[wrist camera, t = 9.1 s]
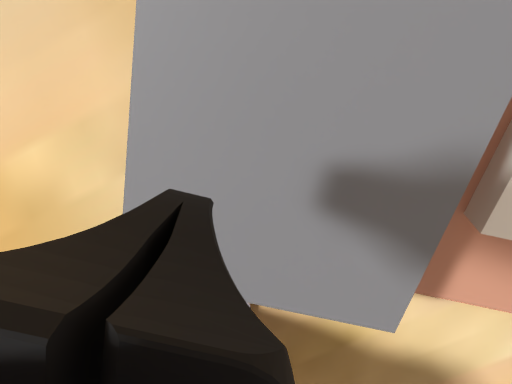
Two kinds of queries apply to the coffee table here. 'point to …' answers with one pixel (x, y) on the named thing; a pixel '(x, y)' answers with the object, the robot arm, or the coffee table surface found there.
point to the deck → (319, 136)
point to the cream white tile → (495, 193)
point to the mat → (472, 251)
